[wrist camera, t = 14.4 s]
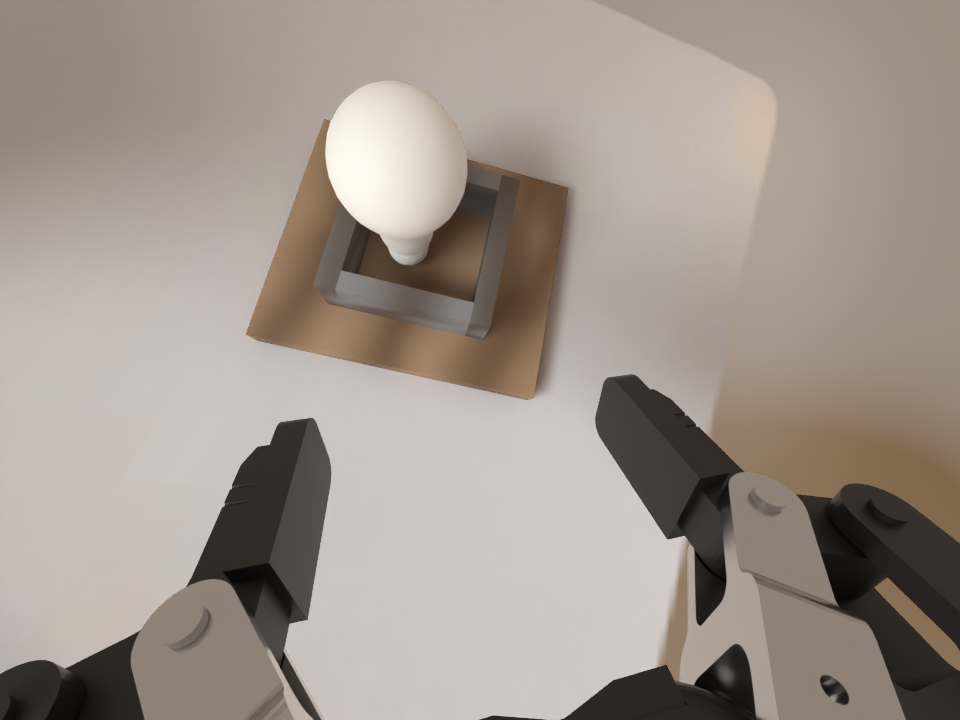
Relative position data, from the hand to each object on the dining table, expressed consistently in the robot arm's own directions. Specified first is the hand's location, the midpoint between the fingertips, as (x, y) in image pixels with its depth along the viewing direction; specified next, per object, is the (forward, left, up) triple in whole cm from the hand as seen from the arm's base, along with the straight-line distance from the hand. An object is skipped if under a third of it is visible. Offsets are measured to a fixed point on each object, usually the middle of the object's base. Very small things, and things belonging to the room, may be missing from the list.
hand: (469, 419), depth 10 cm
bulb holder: (-4, +11, -14) cm, 18 cm away
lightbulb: (-5, +11, -12) cm, 17 cm away
